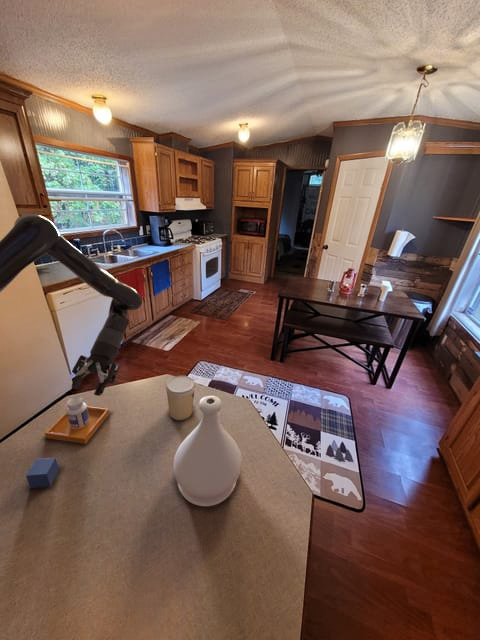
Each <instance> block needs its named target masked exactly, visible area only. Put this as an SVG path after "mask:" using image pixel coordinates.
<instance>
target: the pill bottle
mask: <svg viewBox="0 0 480 640" xmlns="http://www.w3.org/2000/svg"><path fill="white" fill-rule="evenodd" d="M66 405H67V408H66V412H67V416H68V420H69V423H70V426H71V428H72V429H81V428H83V427H85V426H86V425H87V424H88V423H89V421H90V418H89V413H88V409H87V406H88V405H87V403H85V402H84V399H83V397H82V396H74V397H71V398H69V399H68V401H67V402H66Z"/></svg>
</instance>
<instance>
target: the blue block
mask: <svg viewBox="0 0 480 640" xmlns="http://www.w3.org/2000/svg"><path fill="white" fill-rule="evenodd" d="M59 470H60V467H59V465H58V461H57V457H46V458H44V457H43V458H35V460H34V462H33V463H32V465H31V467H30V468H29V470H28V471H27V473H26V474H25V478H26V480H27V483H28V486H29V488H30V489H33V488H43V487H51V486H52V484H53V482H54V481H55V478H56V476H57V474H58V473H59Z"/></svg>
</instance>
